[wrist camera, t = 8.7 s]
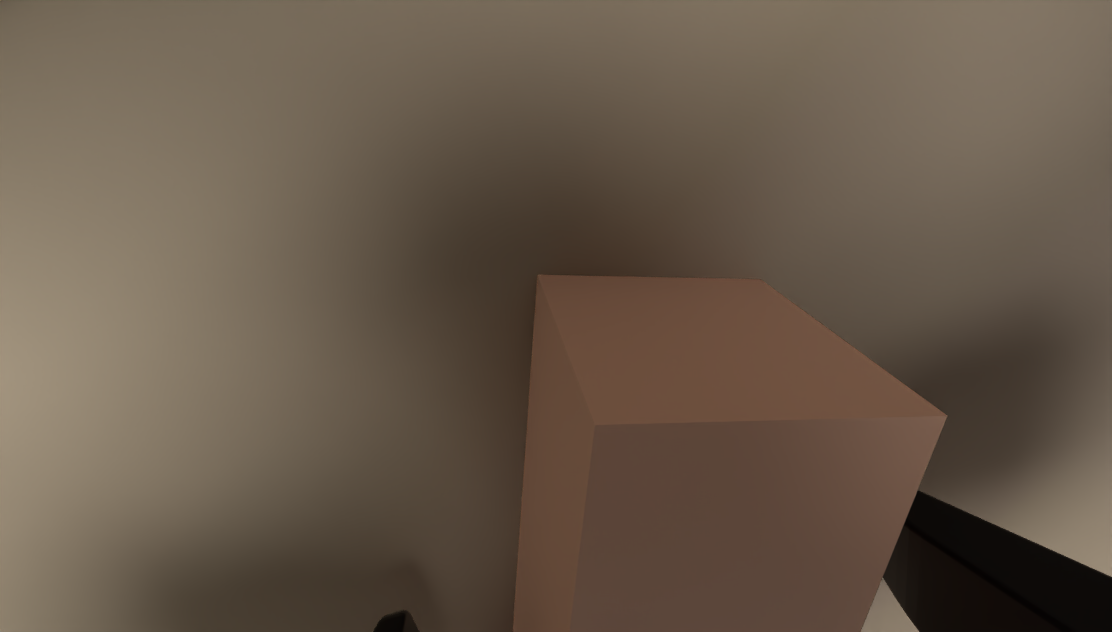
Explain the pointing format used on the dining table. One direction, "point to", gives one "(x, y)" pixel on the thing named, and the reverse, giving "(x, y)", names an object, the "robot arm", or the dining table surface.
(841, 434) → the tall terracotta pillar
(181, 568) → the dining table surface
